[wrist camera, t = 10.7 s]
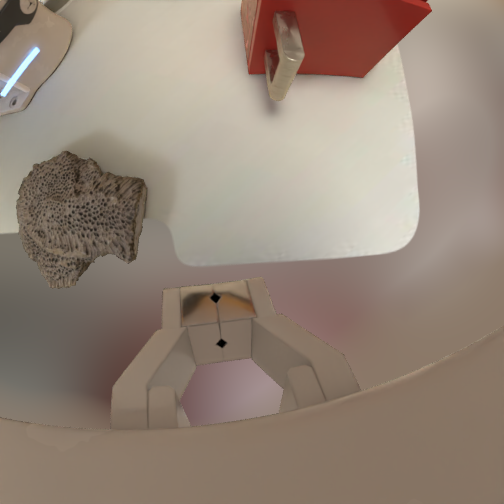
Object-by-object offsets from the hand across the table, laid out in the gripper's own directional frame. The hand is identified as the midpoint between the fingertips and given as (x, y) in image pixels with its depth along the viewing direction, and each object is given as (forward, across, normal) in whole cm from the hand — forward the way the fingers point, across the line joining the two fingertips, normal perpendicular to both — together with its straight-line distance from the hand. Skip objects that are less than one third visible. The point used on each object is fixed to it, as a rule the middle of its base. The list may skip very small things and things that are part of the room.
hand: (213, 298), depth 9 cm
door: (+26, -13, -4) cm, 29 cm away
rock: (+18, +14, +5) cm, 23 cm away
